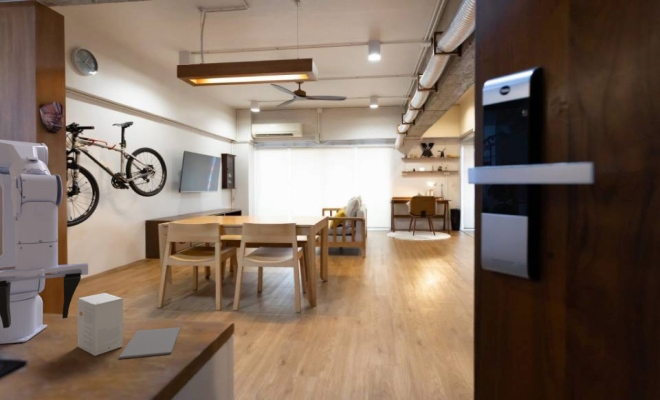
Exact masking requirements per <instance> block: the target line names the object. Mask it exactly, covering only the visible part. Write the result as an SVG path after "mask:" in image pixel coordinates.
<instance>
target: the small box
mask: <svg viewBox="0 0 660 400" xmlns="http://www.w3.org/2000/svg"><path fill="white" fill-rule="evenodd" d="M123 313H124V298H122V297H119V296H117V295H113V294H110V293H108V292H102V293H98V294H93V295H88V296H83V297H78V299H77V347H78V348H80V349H81V350H83V351H85V352H87V353H89V354H91V355H93V356H98V355H101V354H104V353H108V352H110V351H113V350H116V349H120V348H123V346H124V345H123V343H124V341H123V340H124V328H123V327H124V326H123V325H124V314H123Z"/></svg>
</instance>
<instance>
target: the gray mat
mask: <svg viewBox="0 0 660 400" xmlns="http://www.w3.org/2000/svg"><path fill="white" fill-rule="evenodd" d="M180 330H181V327H180V326H179V327H169V328H168V327H167V328H165V327H164V328H155V329H139V330H138V329H137V330H136V332H135V333H134V335H133V336H132V338H131V339H130V340H129V341H128V343H127V344H126V346H125V347H124V349H123V351H122V352H121V353H120V355H119V356H118V359H119V360H120V359H130V358H131V359H132V358H140V357H142V358H143V357H151V356H161V355H171V354H172V353H173V349H174V347H175V345H176V341H177V339H178V336H179V334H180Z"/></svg>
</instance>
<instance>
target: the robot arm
mask: <svg viewBox="0 0 660 400" xmlns="http://www.w3.org/2000/svg"><path fill="white" fill-rule="evenodd" d="M48 164H49V148H48V146H47V145H46V144H45V143H44V142H41V143H38V142H30V141H29V142H28V141H19V140H18V141H17V140H8V139H0V188H1V192H2V193H1V194H2V195H1V196H2V199H1V200H2V201H1V203H2V205H1V206H2V207H1V208H2V228H1V229H2V242H1V244H2V253H1V254H0V345H1V344H2V345H3V344H14V343H25V342H28V341H29V340H30V339H32V338H33V337H35V336H36V335H37V334H39V333H40V332H41V331H43V330H44V329H47V327H48V324H43V318H44V317H43V316H44V315H43V314H44V312H43V310H44V309H43V308H44V303H43V299H42V297H41V296H40V295H39V293H42V291H44V290H45V286H46V279H51V278H52V279H53V278H62V277H63V305H62V319H67V318H68V315H69V310H70V309H69V308H70V305H71V302H72V299H73V297H74V294H75V293H76V290H77V287H78V286H79V284H80V282H81V279H82V276H85V275H89V263H87V262H86V263H85V262H84V263H72V264H71V263H70V264H59V207H61V205H62V201H63V196H64V195H63V193H64V192H63V191H64V190H63V189H64V187H63V181H62V178H61V176H60V174H57V173H55V174H52V173H51V172H50V170H49V167H48ZM10 267H11V268H10ZM12 267H14V268H12ZM2 268H6V269H2Z"/></svg>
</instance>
